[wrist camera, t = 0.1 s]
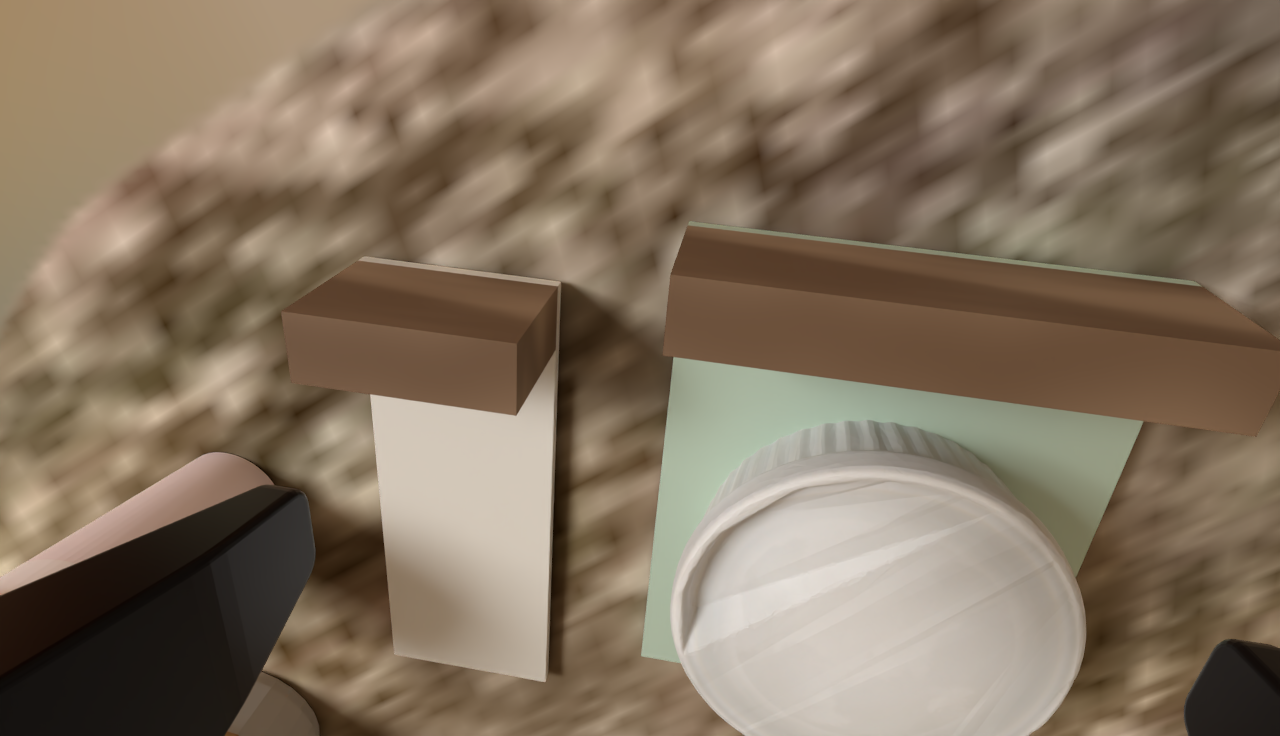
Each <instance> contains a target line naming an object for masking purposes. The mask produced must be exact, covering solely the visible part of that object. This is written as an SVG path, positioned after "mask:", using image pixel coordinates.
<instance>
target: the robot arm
mask: <svg viewBox="0 0 1280 736" xmlns="http://www.w3.org/2000/svg"><path fill="white" fill-rule="evenodd" d="M314 562H315V544H314V537H313V530H312V523H311V516H310V510H309V503H308V499H307V497H306V495H305V494H304V493H303V492H302V491H301V490H299V489H295V488H289V487H283V486H276V485H261V486H258V487H256V488H253V489H251V490H249V491H246V492H244V493H242V494H239V495H237V496H234V497H232V498H230V499H227V500H225V501H223V502H220V503H218V504H215V505H213V506H211V507H208V508H206V509H204V510H201V511H199V512H197V513H194V514H192V515H189V516H187V517H185V518H182V519H180V520H178V521H175V522H173V523H171V524H168V525H166V526H163V527H161V528H159V529H156V530H154V531H152V532H149V533H147V534H144V535H142V536H140V537H137V538H135V539H133V540H130V541H128V542H126V543H123V544H121V545H118V546H116V547H114V548H111V549H109V550H107V551H104V552H102V553H100V554H97V555H95V556H92V557H90V558H88V559H85V560H83V561H81V562H78V563H76V564H74V565H71V566H69V567H66V568H64V569H62V570H59V571H57V572H55V573H52V574H50V575H47V576H45V577H43V578H40V579H38V580H36V581H33V582H31V583H29V584H26V585H24V586H21V587H19V588H17V589H14V590H12V591H10V592H7V593H5V594H3V595H0V736H225V734H226V733H227V731H228V729H229V728H230V726H231V725H232V723H233V721H234V720H235V718H236V716H237V715H238V713H239V712H240V710H241V708H242V707H243V705H244V703H245V701H246V699H247V698H248V696H249V694H250V692H251V690H252V688H253V687H254V685H255V683H256V681H257V679H258V677H259V675H260V673H261V671H262V669H263V667H264V665H265V663H266V661H267V659H268V657H269V655H270V653H271V652H272V650H273V648H274V646H275V644H276V642H277V640H278V638H279V636H280V634H281V632H282V630H283V628H284V626H285V624H286V622H287V620H288V618H289V616H290V614H291V612H292V610H293V608H294V606H295V604H296V602H297V600H298V599H299V597H300V595H301V593H302V591H303V589H304V587H305V585H306V583H307V581H308V579H309V577H310V575H311V572H312V569H313V566H314ZM1184 720H1185V726H1186V730H1187V733H1188V736H1280V648H1277V647H1275V646H1272V645H1268V644H1262V643H1256V642H1250V641H1244V640H1237V639H1228V640H1224V641H1222V642H1221V643H1219V644H1218V645H1217V646H1216V647H1215V648H1214V650H1213V651H1212V653H1211V655H1210V657H1209V658H1208V660H1207V662H1206V664H1205V665H1204V667H1203V669H1202V671H1201V672H1200V674H1199V676H1198V678H1197V679H1196V681H1195V683H1194V685H1193V686H1192V688H1191V690H1190V692H1189V693H1188V695H1187V698H1186V701H1185V706H1184Z"/></svg>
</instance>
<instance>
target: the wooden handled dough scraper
mask: <svg viewBox="0 0 1280 736" xmlns="http://www.w3.org/2000/svg"><path fill="white" fill-rule="evenodd" d="M662 356H669V357H673V367H672V376H671V385H670V394H669V404H668V413H667V422H666V431H665V440H664V450H663V459H662V468H661V477H660V487H659V496H658V505H657V514H656V524H655V533H654V542H653V551H652V560H651V570H650V579H649V588H648V597H647V607H646V616H645V625H644V634H643V644H642V653H641V656H643V657H649V658H654V659H660V660H666V661H671V662H677V663H681V662H680V659H679V657H678V654H677V651H676V648H675V644H674V640H673V636H672V631H671V621H670V604H671V594H672V588H673V582H674V578H675V574H676V570H677V566H678V563H679V560H680V558H681V555H682V553H683V550H684V548H685V546H686V544H687V542H688V540H689V539H690V537H691V535H692V534H693V532H694V530H695V529H696V527H697V526H698V525H699V523H700V522H701V520H702V519H703V517H704V515H705V513H706V511H707V509H708V507H709V505H710V502H711V501H712V499H713V498H714V497H715V495H716V493H717V491H718V489H719V487H720V486H721V485H722V484H723V483H724V482H725V480H726V479H727V477H728V476H729V474H730V473H731V472H732V471H733V470H735V469H736V468H738V467H739V466H740V465H741V463H742V462H743V460H745V459H746V458H748V457H750V456H752V455H753V454H755V453H756V452H757V451H758V450H759V449H760V448H762V447H764V446H767V445H770V444H772V443H773V442H775V441H776V440H777V439H779V438H781V437H784V436H787V435H791V434H793V433H795V432H796V431H798V430H801V429H807V428H813V427H816V426H818V425H821V424H824V423H838V422H841V421H863V420H873V421H876V422H880V423H886V422H894V423H897V424H899V425H902V426H910V427H917V428H919V429H921V430H923V431H926V432H931V433H935V434H938V435H939V436H941V437H943V438H945V439H947V440H951V441H954V442H955V443H957V444H958V445H959V446H960V447H962V448H963V449H965V450H967V451H970V452H972V453H973V454H974V455H975V456H976V458H977V459H978V460H979V461H981V462H982V463H984V464H986V465H988V466H989V467H990V468H991V470H992V471H993V472H994V474H995V475H996V476H997V477H998V478H999V479H1001V480H1002V481H1003V482H1004V484H1005V485H1006V486H1007V488H1008V489H1009V490H1010V491H1011V492H1012V494H1013V495H1014V496H1015V497H1016V499H1017V500H1019V501H1020V502H1021V503H1023V504H1024V505H1025V506H1026V507H1027V508H1028V509H1029V510H1030V511H1031V512H1033V513H1034V514H1035V515H1036V516H1037V518H1038V519H1039V520H1040V521H1041V522H1042V523H1043V524H1044V525H1045V527H1046V528H1047V529H1048V530H1049V532H1050V533H1051V534H1052V536H1053V537H1054V538H1055V540H1056V541H1057V543H1058V544H1059V546H1060V548H1061V549H1062V551H1063V553H1064V555H1065V557H1066V558H1067V560H1068V562H1069V564H1070V566H1071V568H1072V571H1073V573H1074V576H1075V578H1076V576H1077V574H1078V572H1079V569H1080V567H1081V565H1082V562H1083V560H1084V558H1085V555H1086V553H1087V551H1088V549H1089V546H1090V544H1091V542H1092V539H1093V537H1094V535H1095V532H1096V530H1097V528H1098V526H1099V523H1100V521H1101V519H1102V516H1103V514H1104V512H1105V509H1106V507H1107V505H1108V502H1109V500H1110V498H1111V496H1112V493H1113V491H1114V489H1115V486H1116V484H1117V482H1118V479H1119V477H1120V475H1121V473H1122V470H1123V468H1124V466H1125V463H1126V461H1127V459H1128V456H1129V454H1130V452H1131V449H1132V447H1133V445H1134V443H1135V440H1136V438H1137V436H1138V433H1139V431H1140V429H1141V426H1142V424H1143V422H1144V421H1146V422H1153V423H1160V424H1168V425H1175V426H1182V427H1190V428H1197V429H1204V430H1212V431H1219V432H1226V433H1234V434H1241V435H1248V436H1257V434H1258V432H1259V430H1260V428H1261V427H1262V425H1263V423H1264V421H1265V419H1266V417H1267V415H1268V413H1269V411H1270V409H1271V407H1272V405H1273V403H1274V401H1275V399H1276V397H1277V396H1278V394H1279V392H1280V340H1279V339H1277V338H1276V337H1274V336H1273V335H1271V334H1270V333H1269V332H1267V331H1266V330H1264V329H1263V328H1261V327H1260V326H1258V325H1257V324H1256V323H1254V322H1253V321H1251V320H1250V319H1248V318H1247V317H1245V316H1244V315H1243V314H1241V313H1240V312H1238V311H1237V310H1235V309H1234V308H1232V307H1231V306H1230V305H1228V304H1227V303H1225V302H1224V301H1222V300H1221V299H1220V298H1218V297H1217V296H1215V295H1214V294H1212V293H1211V292H1209V291H1208V290H1207V289H1205V288H1204V287H1202V286H1201V285H1199V284H1198V283H1196V282H1195V281H1189V280H1181V279H1172V278H1164V277H1155V276H1147V275H1138V274H1130V273H1122V272H1113V271H1105V270H1096V269H1088V268H1079V267H1071V266H1062V265H1054V264H1046V263H1037V262H1029V261H1020V260H1012V259H1003V258H995V257H987V256H978V255H970V254H961V253H953V252H944V251H936V250H927V249H919V248H911V247H902V246H894V245H885V244H877V243H868V242H860V241H851V240H843V239H835V238H826V237H818V236H809V235H801V234H792V233H784V232H775V231H767V230H759V229H750V228H742V227H733V226H725V225H716V224H708V223H700V222H691V221H689V223H688V226H687V229H686V232H685V235H684V238H683V240H682V243H681V246H680V249H679V252H678V255H677V258H676V260H675V263H674V266H673V269H672V272H671V275H670V285H669V295H668V305H667V315H666V325H665V335H664V344H663V354H662Z"/></svg>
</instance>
